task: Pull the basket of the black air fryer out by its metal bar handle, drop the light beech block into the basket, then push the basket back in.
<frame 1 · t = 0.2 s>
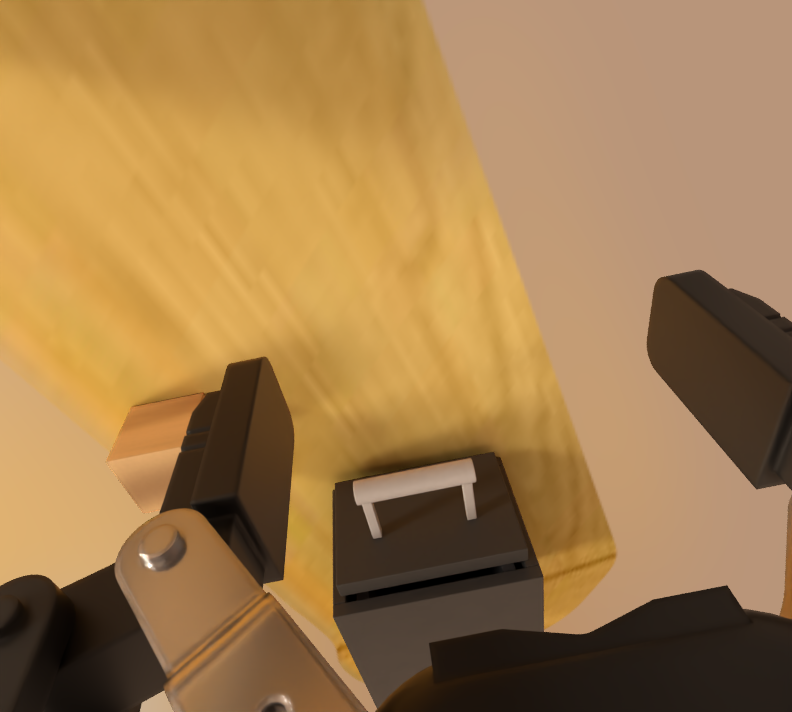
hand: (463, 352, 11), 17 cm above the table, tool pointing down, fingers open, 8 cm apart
air fryer: (429, 532, 43), on the table
fryer basket: (430, 550, 36), point 5 cm above the table, slide at 0.5 cm
block: (182, 426, 33), on the table
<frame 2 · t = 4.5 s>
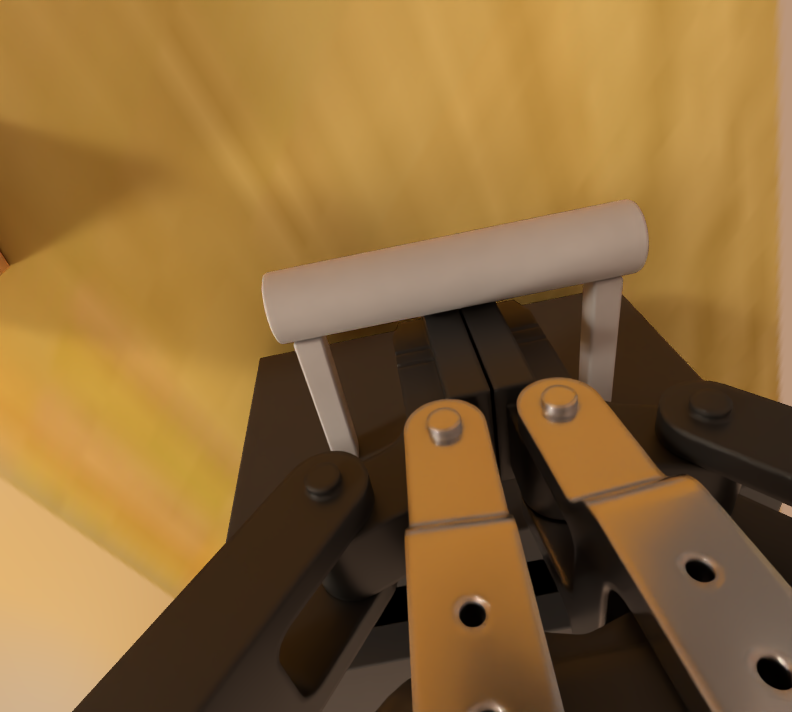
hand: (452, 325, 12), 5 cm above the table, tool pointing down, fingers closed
air fryer: (459, 493, 23), on the table
fryer basket: (475, 507, 16), point 5 cm above the table, slide at 1.1 cm, touching gripper
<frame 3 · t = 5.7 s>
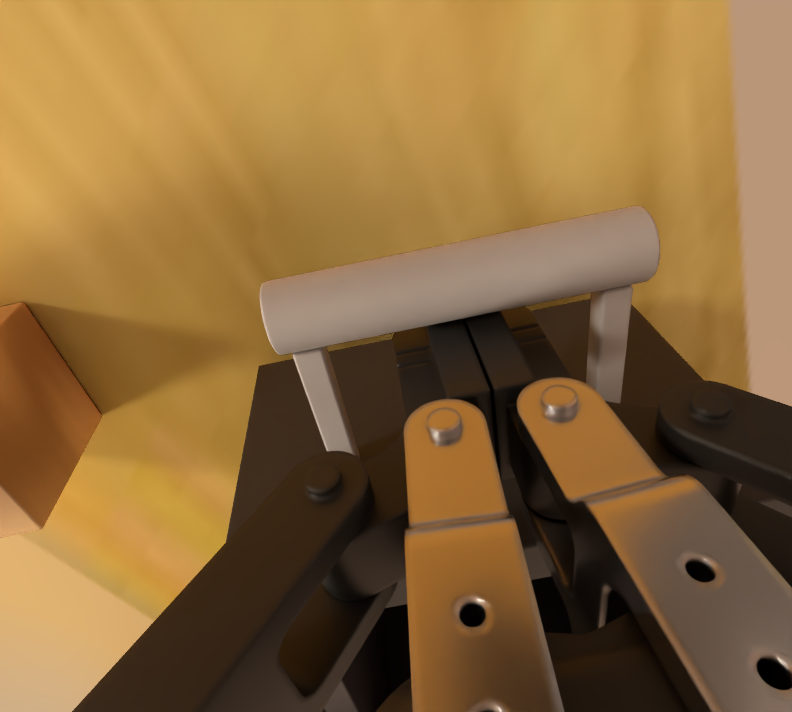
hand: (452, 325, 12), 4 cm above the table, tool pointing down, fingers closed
fryer basket: (478, 518, 15), point 5 cm above the table, slide at 6.6 cm, touching gripper
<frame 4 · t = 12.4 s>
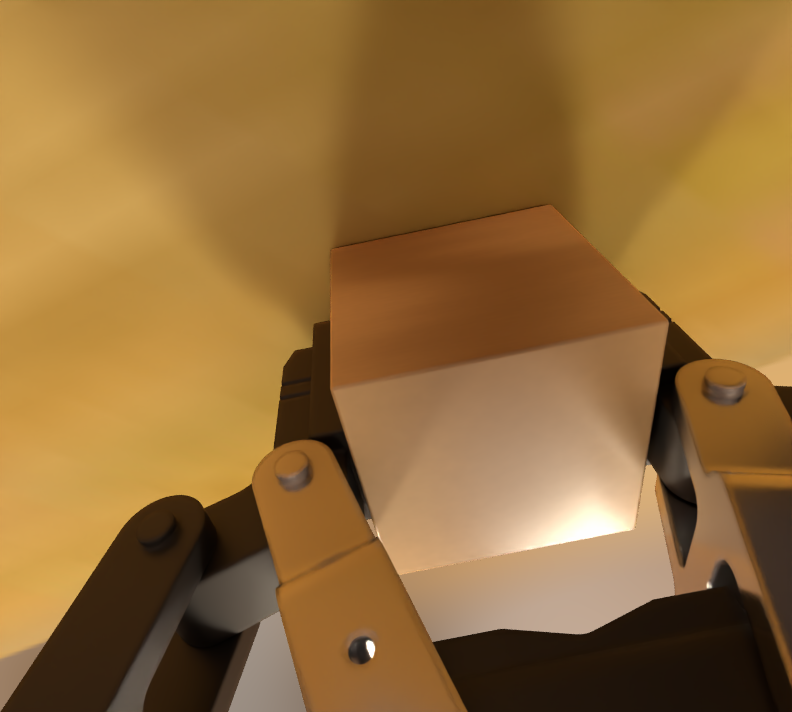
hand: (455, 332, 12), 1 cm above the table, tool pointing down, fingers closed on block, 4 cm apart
block: (452, 319, 12), on the table, touching gripper
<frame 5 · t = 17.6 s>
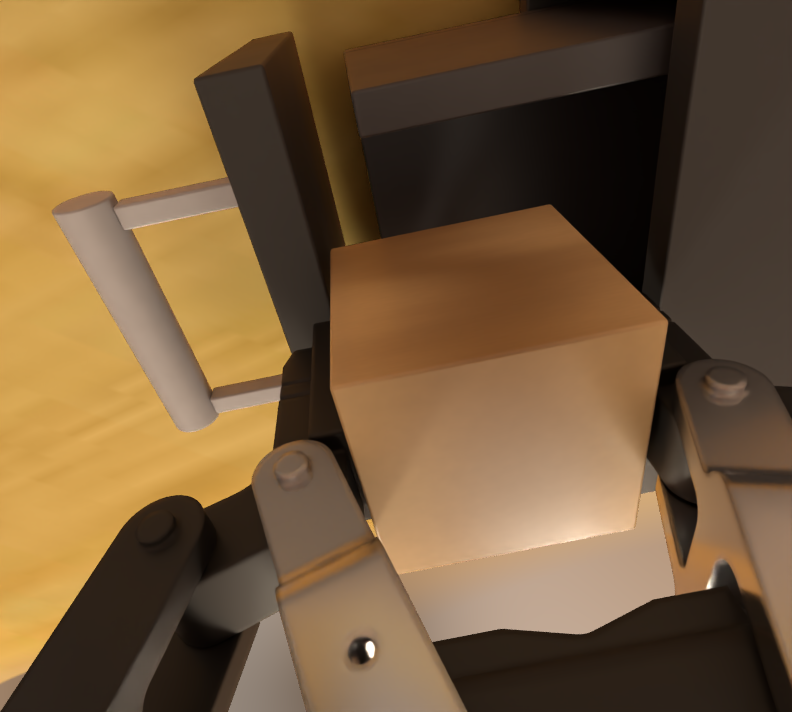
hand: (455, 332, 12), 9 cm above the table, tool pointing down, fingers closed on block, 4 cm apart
air fryer: (724, 131, 19), on the table
fryer basket: (446, 247, 15), point 5 cm above the table, slide at 6.8 cm
block: (452, 319, 12), point 8 cm above the table, touching gripper
when the fingers open (12 cm above the table, at t = 34.2 s): block drops 9 cm, resting on fryer basket.
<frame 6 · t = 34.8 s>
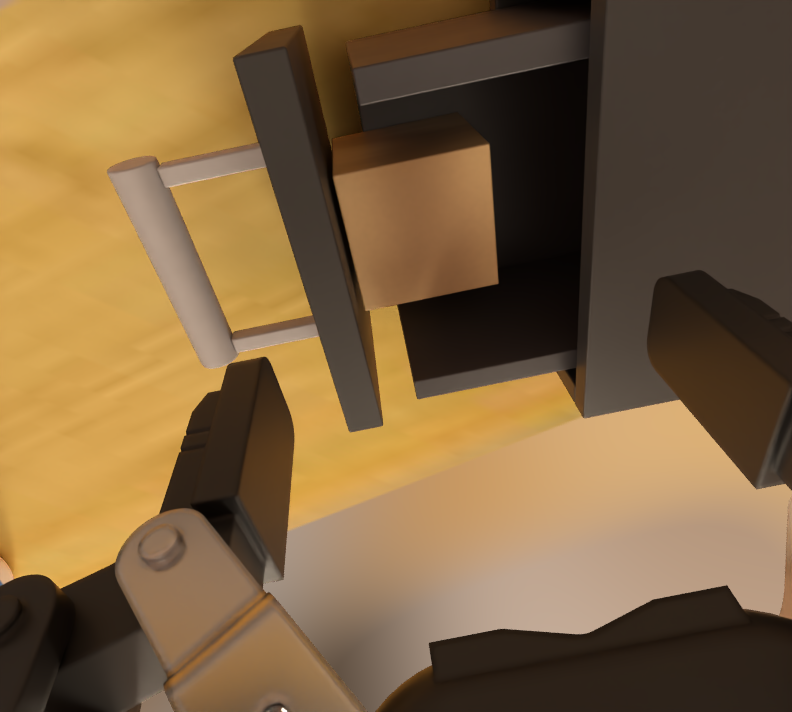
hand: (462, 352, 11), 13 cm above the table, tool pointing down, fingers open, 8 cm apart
air fryer: (672, 115, 21), on the table
fryer basket: (433, 208, 18), point 5 cm above the table, slide at 6.6 cm, touching block
block: (405, 188, 20), point 2 cm above the table, touching fryer basket
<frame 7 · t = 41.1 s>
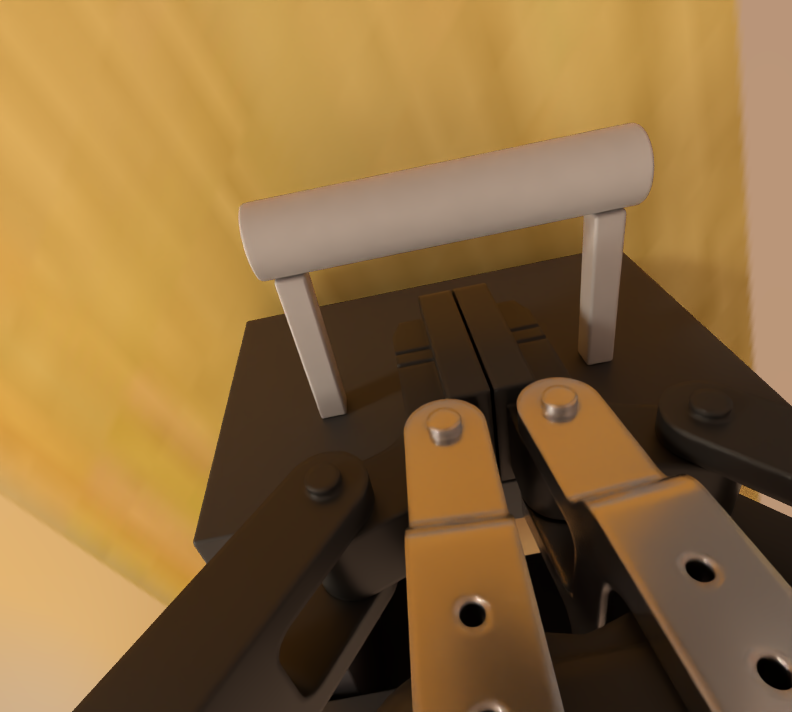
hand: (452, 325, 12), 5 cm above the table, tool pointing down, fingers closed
air fryer: (466, 538, 25), on the table
fryer basket: (470, 475, 15), point 5 cm above the table, slide at 5.9 cm, touching block
block: (448, 397, 17), point 2 cm above the table, touching fryer basket
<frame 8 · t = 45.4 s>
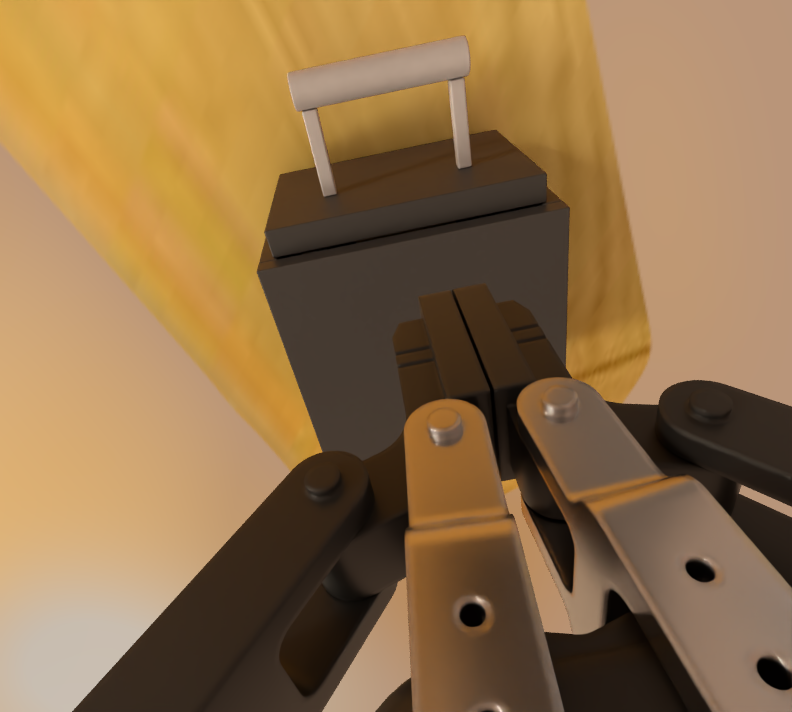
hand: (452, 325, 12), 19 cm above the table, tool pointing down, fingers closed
air fryer: (410, 287, 33), on the table
fryer basket: (409, 259, 26), point 5 cm above the table, slide at 0.0 cm, touching block
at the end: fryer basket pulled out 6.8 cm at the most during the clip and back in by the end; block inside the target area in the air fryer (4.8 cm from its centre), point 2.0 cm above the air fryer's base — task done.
